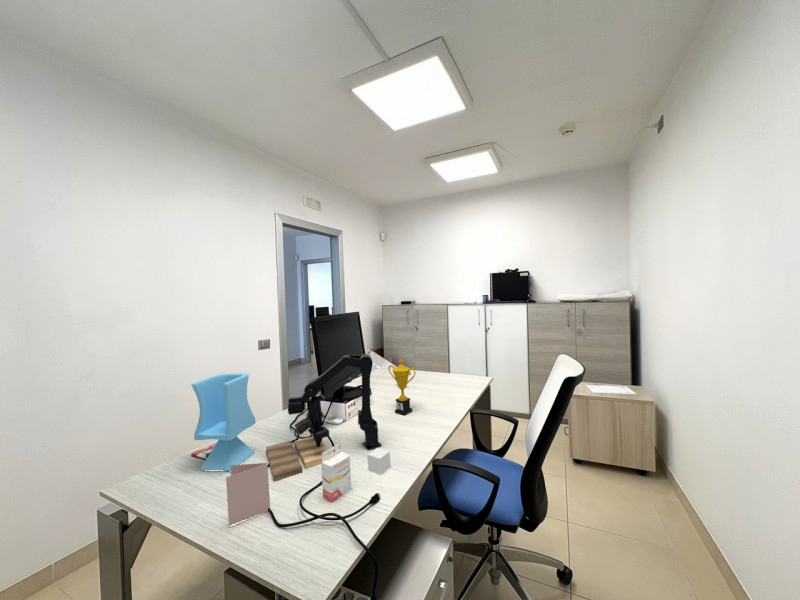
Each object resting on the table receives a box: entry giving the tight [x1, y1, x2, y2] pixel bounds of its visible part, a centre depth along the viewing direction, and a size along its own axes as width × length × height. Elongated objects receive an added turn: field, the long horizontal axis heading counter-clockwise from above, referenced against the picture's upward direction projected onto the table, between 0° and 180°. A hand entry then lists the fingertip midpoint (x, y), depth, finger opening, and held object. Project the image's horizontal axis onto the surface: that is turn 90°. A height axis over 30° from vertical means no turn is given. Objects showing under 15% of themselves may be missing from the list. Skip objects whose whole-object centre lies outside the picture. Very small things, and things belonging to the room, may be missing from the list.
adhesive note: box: [367, 447, 391, 475], centre depth 116 cm, size 6×6×6 cm
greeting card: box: [225, 462, 271, 527], centre depth 93 cm, size 11×7×15 cm, turn 92°
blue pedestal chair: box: [191, 372, 256, 471], centre depth 126 cm, size 16×16×35 cm
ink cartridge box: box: [320, 443, 352, 502], centre depth 103 cm, size 9×5×15 cm, turn 141°
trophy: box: [387, 358, 416, 416], centre depth 170 cm, size 19×10×30 cm, turn 51°
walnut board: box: [265, 440, 303, 482], centre depth 125 cm, size 26×10×2 cm, turn 29°
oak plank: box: [294, 436, 330, 469], centre depth 130 cm, size 22×10×2 cm, turn 29°
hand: (318, 446), depth 132 cm, fingers closed, pressing on oak plank
